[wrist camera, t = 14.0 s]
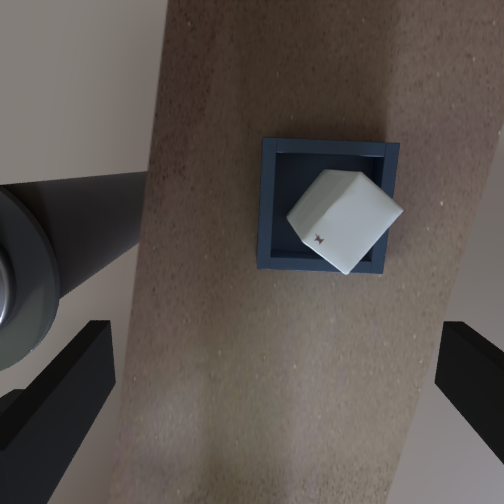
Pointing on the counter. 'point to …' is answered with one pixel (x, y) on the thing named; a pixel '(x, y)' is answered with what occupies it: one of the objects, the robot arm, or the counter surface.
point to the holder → (298, 181)
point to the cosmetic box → (342, 216)
